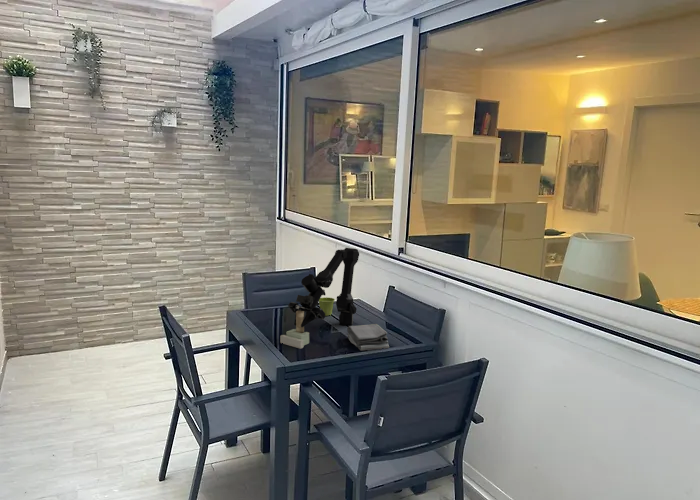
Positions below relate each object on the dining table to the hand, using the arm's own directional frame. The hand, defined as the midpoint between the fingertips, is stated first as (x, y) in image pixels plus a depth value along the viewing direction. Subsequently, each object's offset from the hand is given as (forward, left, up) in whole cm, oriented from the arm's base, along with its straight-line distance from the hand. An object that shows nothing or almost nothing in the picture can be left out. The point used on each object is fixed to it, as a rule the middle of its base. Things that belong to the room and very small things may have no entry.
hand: (298, 325), depth 229 cm
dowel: (-1, -1, -7) cm, 7 cm away
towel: (-31, -7, -9) cm, 33 cm away
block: (0, 0, -8) cm, 8 cm away
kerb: (+2, +4, -8) cm, 9 cm away
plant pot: (-2, -49, -8) cm, 50 cm away
